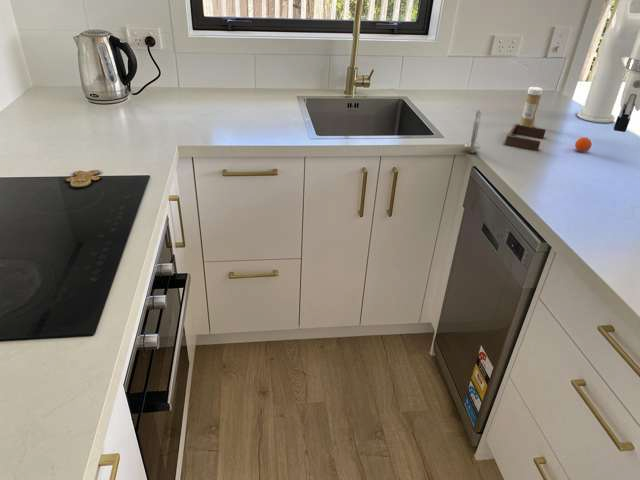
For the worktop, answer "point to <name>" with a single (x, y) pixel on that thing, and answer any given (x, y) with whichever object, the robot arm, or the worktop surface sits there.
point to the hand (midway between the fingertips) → (619, 130)
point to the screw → (474, 135)
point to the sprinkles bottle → (531, 106)
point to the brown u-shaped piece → (525, 142)
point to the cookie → (83, 178)
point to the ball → (583, 144)
